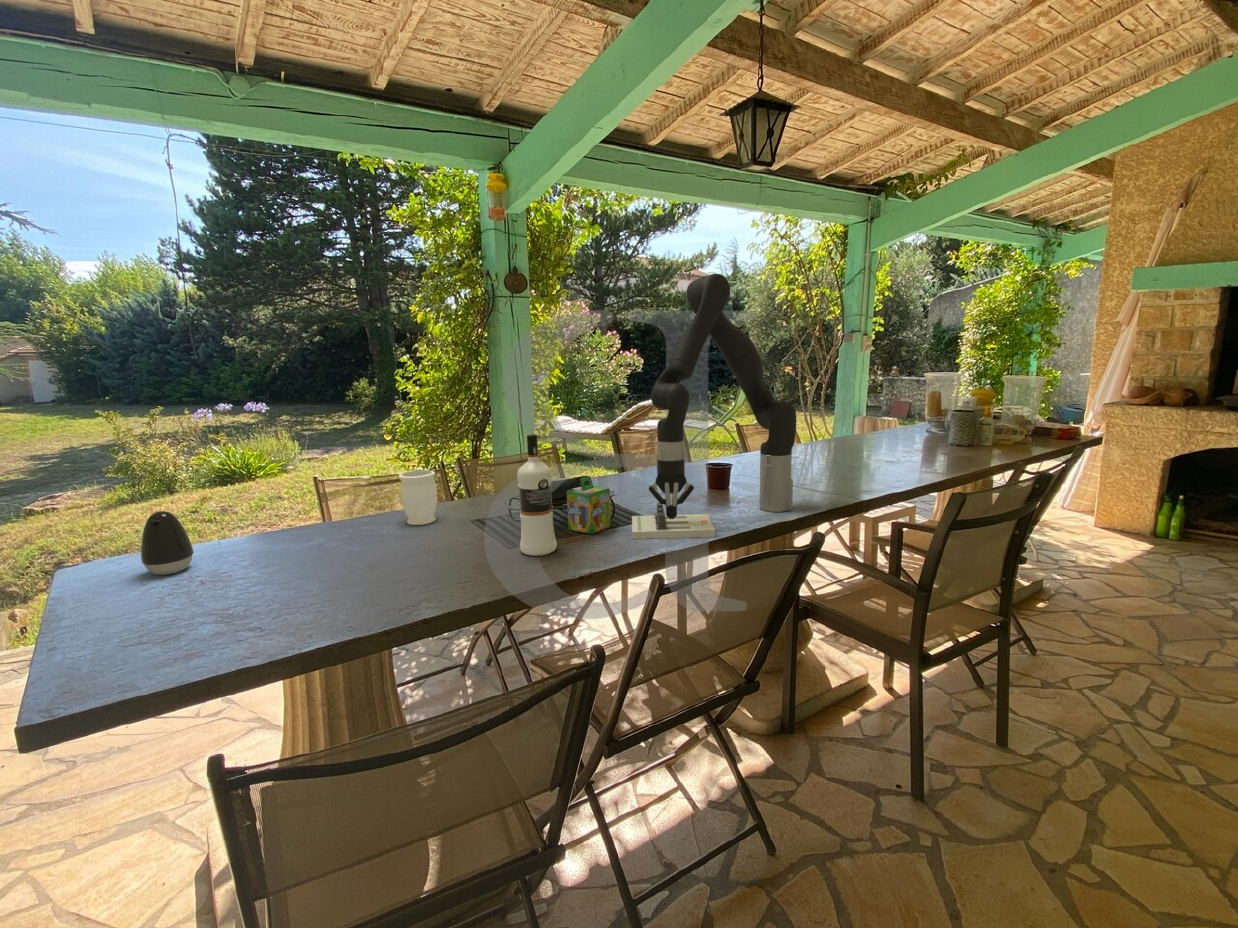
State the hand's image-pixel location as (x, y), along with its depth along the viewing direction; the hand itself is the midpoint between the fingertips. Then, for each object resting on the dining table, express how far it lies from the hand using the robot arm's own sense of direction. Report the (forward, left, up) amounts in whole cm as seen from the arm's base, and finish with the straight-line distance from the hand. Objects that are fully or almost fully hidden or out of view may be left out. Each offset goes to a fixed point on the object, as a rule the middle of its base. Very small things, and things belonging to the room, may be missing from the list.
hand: (671, 518), depth 168 cm
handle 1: (+3, -5, -1) cm, 6 cm away
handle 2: (+3, +5, -1) cm, 6 cm away
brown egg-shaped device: (+124, +24, -4) cm, 126 cm away
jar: (+75, -14, -4) cm, 76 cm away
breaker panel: (0, 0, -3) cm, 3 cm away
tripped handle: (+3, 0, -1) cm, 3 cm away
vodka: (+35, +15, -4) cm, 38 cm away
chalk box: (+23, -3, -4) cm, 23 cm away
